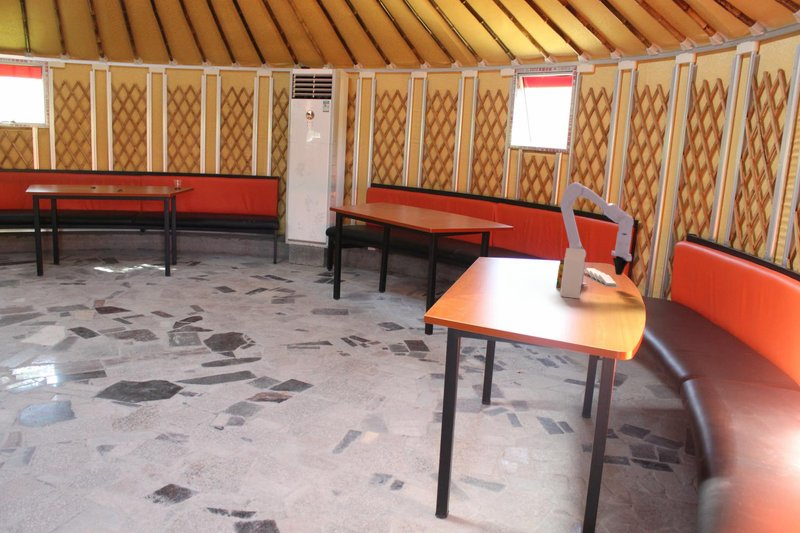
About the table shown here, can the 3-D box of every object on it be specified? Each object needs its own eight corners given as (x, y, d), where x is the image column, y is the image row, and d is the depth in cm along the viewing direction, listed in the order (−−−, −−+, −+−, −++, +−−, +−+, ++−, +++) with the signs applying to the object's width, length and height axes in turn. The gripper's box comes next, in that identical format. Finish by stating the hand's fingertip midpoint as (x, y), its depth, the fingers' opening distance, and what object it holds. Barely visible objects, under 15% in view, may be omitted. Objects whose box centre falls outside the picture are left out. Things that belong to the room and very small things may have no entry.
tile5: (597, 273, 299) (589, 271, 308) (588, 273, 299) (580, 271, 307) (596, 276, 300) (589, 274, 308) (587, 275, 299) (580, 273, 307)
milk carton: (579, 298, 250) (585, 251, 247) (560, 296, 252) (566, 249, 248) (578, 295, 257) (584, 248, 254) (560, 293, 258) (566, 246, 255)
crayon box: (555, 287, 269) (559, 260, 266) (556, 286, 271) (559, 259, 269) (573, 290, 267) (577, 262, 264) (574, 288, 269) (577, 261, 267)
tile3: (606, 278, 289) (599, 270, 297) (597, 278, 289) (590, 270, 297) (605, 281, 290) (598, 272, 298) (596, 280, 289) (589, 272, 297)
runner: (620, 288, 278) (620, 287, 278) (606, 287, 277) (606, 286, 277) (597, 277, 301) (597, 276, 301) (584, 276, 300) (584, 275, 300)
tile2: (611, 281, 285) (603, 272, 292) (602, 280, 284) (594, 272, 292) (610, 283, 285) (603, 275, 293) (601, 282, 285) (594, 274, 292)
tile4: (601, 276, 294) (595, 268, 302) (592, 275, 294) (586, 268, 301) (601, 278, 295) (594, 270, 302) (592, 278, 294) (585, 270, 302)
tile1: (616, 283, 280) (608, 274, 288) (606, 282, 279) (599, 274, 287) (615, 285, 281) (607, 277, 288) (606, 285, 280) (598, 276, 288)
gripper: (640, 246, 265) (635, 278, 267) (624, 241, 279) (619, 271, 281) (624, 245, 264) (619, 277, 266) (608, 240, 278) (604, 270, 280)
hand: (618, 274), depth 274 cm, fingers closed
